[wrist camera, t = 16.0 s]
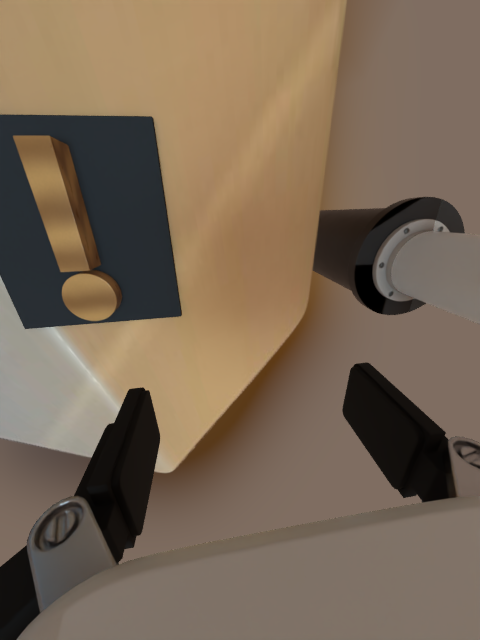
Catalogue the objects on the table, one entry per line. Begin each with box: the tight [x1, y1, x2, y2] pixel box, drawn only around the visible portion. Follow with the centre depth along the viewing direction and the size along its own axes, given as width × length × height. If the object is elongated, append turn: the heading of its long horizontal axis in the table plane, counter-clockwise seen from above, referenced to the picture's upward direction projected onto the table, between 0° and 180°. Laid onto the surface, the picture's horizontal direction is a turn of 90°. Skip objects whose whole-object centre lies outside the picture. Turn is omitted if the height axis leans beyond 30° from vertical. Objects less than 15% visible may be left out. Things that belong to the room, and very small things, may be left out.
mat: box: [0, 115, 182, 329], centre depth 27 cm, size 20×22×1 cm
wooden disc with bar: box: [13, 136, 122, 321], centre depth 26 cm, size 18×6×3 cm, turn 2°
